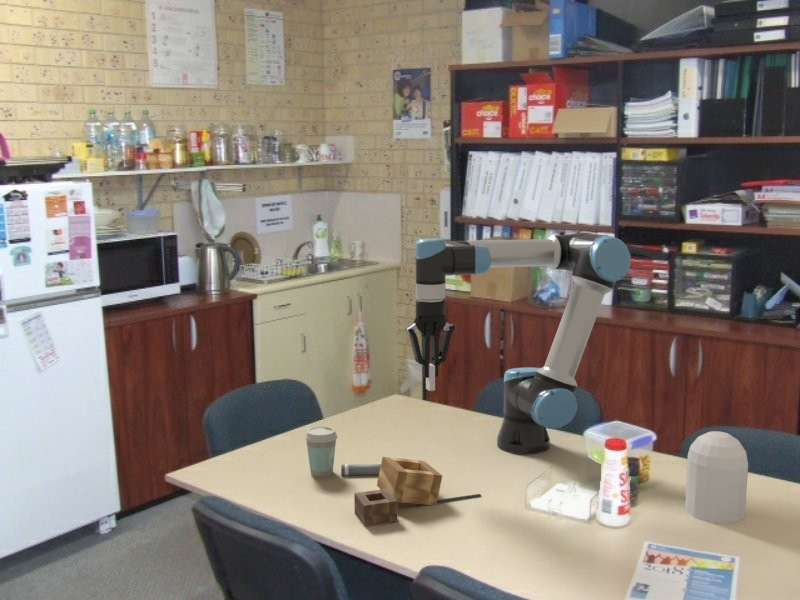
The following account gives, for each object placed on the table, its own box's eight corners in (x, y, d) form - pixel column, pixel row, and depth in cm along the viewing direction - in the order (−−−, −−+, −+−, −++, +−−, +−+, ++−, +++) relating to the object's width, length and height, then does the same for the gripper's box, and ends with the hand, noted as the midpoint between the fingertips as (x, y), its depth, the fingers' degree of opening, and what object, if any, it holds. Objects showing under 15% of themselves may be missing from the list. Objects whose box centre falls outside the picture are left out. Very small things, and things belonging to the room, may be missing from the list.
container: (716, 530, 195) (720, 445, 192) (672, 509, 207) (676, 428, 204) (757, 518, 201) (763, 436, 198) (712, 498, 213) (717, 420, 210)
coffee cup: (332, 480, 226) (332, 436, 224) (301, 478, 228) (300, 434, 226) (341, 469, 234) (340, 426, 232) (311, 467, 236) (310, 425, 234)
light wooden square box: (418, 489, 221) (424, 461, 220) (436, 505, 210) (442, 475, 210) (376, 485, 217) (382, 456, 216) (392, 501, 206) (398, 471, 205)
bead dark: (386, 508, 208) (386, 488, 207) (397, 521, 200) (397, 501, 200) (354, 513, 205) (354, 493, 204) (364, 526, 198) (364, 505, 197)
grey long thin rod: (480, 496, 215) (480, 493, 215) (481, 497, 214) (481, 494, 214) (417, 505, 210) (417, 502, 210) (418, 506, 209) (418, 503, 209)
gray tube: (409, 477, 230) (341, 477, 230) (408, 468, 232) (341, 469, 232) (409, 470, 228) (341, 470, 228) (409, 461, 230) (341, 462, 230)
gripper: (448, 295, 225) (448, 383, 229) (401, 298, 221) (401, 388, 225) (459, 300, 218) (459, 390, 222) (411, 303, 214) (411, 395, 218)
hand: (430, 389), depth 224 cm, fingers closed
